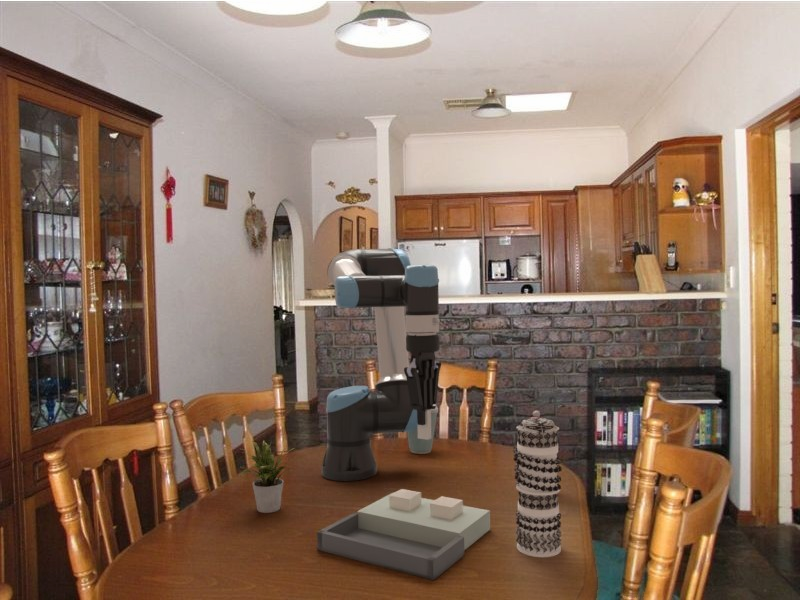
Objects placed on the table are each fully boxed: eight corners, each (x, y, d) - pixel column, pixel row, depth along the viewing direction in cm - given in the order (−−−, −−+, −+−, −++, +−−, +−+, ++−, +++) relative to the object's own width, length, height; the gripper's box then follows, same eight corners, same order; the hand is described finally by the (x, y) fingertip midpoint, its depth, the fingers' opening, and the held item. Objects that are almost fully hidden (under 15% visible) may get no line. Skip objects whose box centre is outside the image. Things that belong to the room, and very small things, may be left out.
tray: (317, 549, 126) (317, 532, 126) (353, 529, 136) (353, 512, 136) (433, 580, 112) (433, 560, 112) (464, 555, 122) (464, 536, 122)
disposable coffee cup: (405, 446, 204) (405, 399, 203) (439, 447, 203) (439, 399, 202) (402, 455, 193) (401, 406, 193) (438, 456, 192) (437, 406, 192)
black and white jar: (511, 538, 130) (509, 415, 129) (557, 538, 129) (556, 414, 129) (518, 558, 121) (516, 425, 120) (568, 558, 120) (566, 424, 120)
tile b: (430, 515, 133) (429, 503, 133) (441, 507, 137) (441, 496, 137) (451, 519, 130) (451, 507, 130) (462, 512, 134) (462, 500, 134)
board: (357, 530, 136) (357, 511, 136) (393, 509, 148) (393, 492, 148) (459, 554, 123) (459, 533, 123) (490, 529, 135) (489, 510, 135)
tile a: (389, 507, 138) (389, 495, 138) (401, 500, 142) (401, 488, 142) (409, 511, 135) (409, 499, 135) (421, 503, 140) (421, 492, 139)
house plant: (220, 509, 150) (218, 439, 150) (269, 494, 160) (268, 428, 160) (256, 524, 140) (254, 449, 140) (306, 507, 150) (304, 437, 150)
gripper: (422, 336, 137) (424, 446, 138) (450, 332, 148) (452, 434, 149) (392, 335, 141) (394, 442, 142) (422, 331, 152) (424, 430, 153)
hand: (424, 438), depth 145 cm, fingers closed
